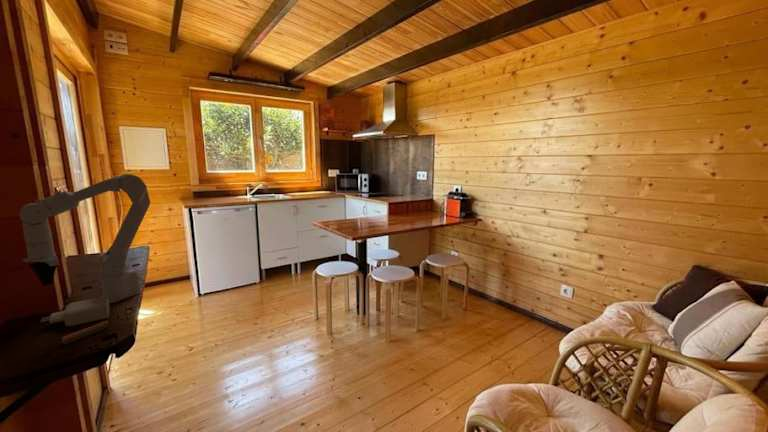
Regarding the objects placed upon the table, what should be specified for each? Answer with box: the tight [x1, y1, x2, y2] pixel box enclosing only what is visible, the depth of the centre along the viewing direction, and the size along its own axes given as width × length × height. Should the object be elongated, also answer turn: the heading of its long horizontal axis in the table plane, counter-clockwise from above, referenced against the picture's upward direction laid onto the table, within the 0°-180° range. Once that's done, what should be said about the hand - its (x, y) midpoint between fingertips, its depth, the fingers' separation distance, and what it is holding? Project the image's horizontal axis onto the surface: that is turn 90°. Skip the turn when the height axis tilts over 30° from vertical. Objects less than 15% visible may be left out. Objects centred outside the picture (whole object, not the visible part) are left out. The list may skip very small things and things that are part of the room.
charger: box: [39, 295, 111, 327], centre depth 98 cm, size 5×9×15 cm
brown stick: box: [61, 320, 110, 345], centre depth 90 cm, size 10×1×2 cm, turn 156°
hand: (47, 284), depth 101 cm, fingers closed
